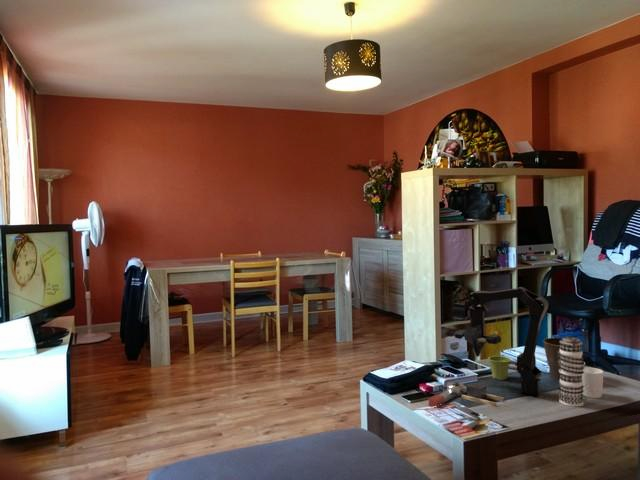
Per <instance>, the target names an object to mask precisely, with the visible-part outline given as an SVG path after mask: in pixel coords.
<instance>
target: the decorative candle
mask: <svg viewBox="0 0 640 480" xmlns="http://www.w3.org/2000/svg"><path fill="white" fill-rule="evenodd" d="M562 338H563V339H562V340H560V341H559V342H560V351H558V354H559V355H558V358H559V360H558V362H559V364H558V366H559V372H560V379H559V383H558V386H559V387H558V389H559V391H558V399H559V400H558V402H559V403H561V404H562V405H565V406H568V407H576V408H577V407H582V406H583V405H584V401H585V399H584V397H585V396H584V395H583V392H584V391H583V388H584V386H583V381H582V375H583V373H584V372H583V371H582V370H583V369H584V368H585V367H584V366H583V365H585V362H584V360H585V358H584V357H583V344H584V343H583V341H581V340H580V339H579V338H578V337H575V336H564V337H562ZM560 365H561V366H560Z"/></svg>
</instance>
